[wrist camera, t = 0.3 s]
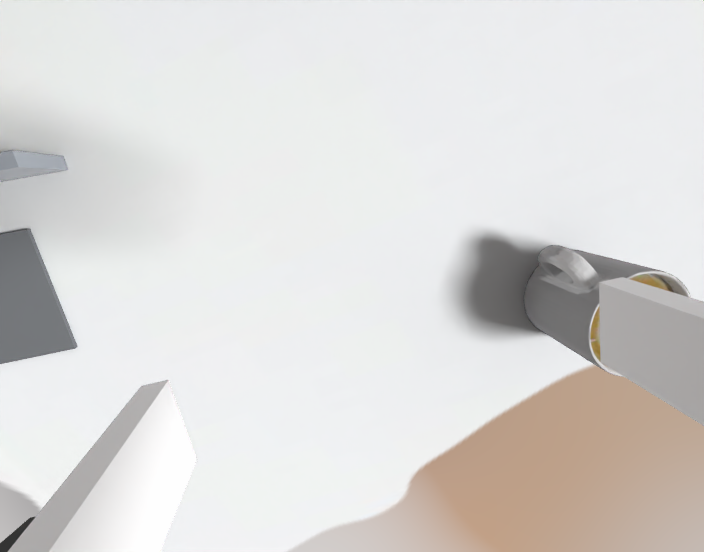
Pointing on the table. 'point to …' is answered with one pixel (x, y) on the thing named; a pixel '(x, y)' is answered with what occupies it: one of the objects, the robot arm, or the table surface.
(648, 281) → the coffee mug
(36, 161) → the low wall
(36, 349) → the mat
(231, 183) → the table surface
